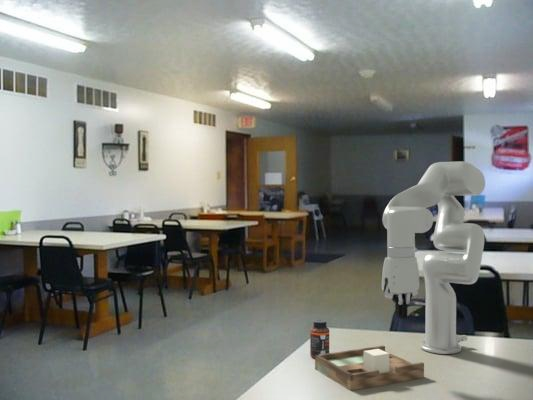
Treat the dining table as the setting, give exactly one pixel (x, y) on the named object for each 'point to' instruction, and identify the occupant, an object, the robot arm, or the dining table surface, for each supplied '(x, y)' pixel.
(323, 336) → the supplement bottle
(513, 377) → the dining table surface
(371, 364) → the block
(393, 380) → the tray
